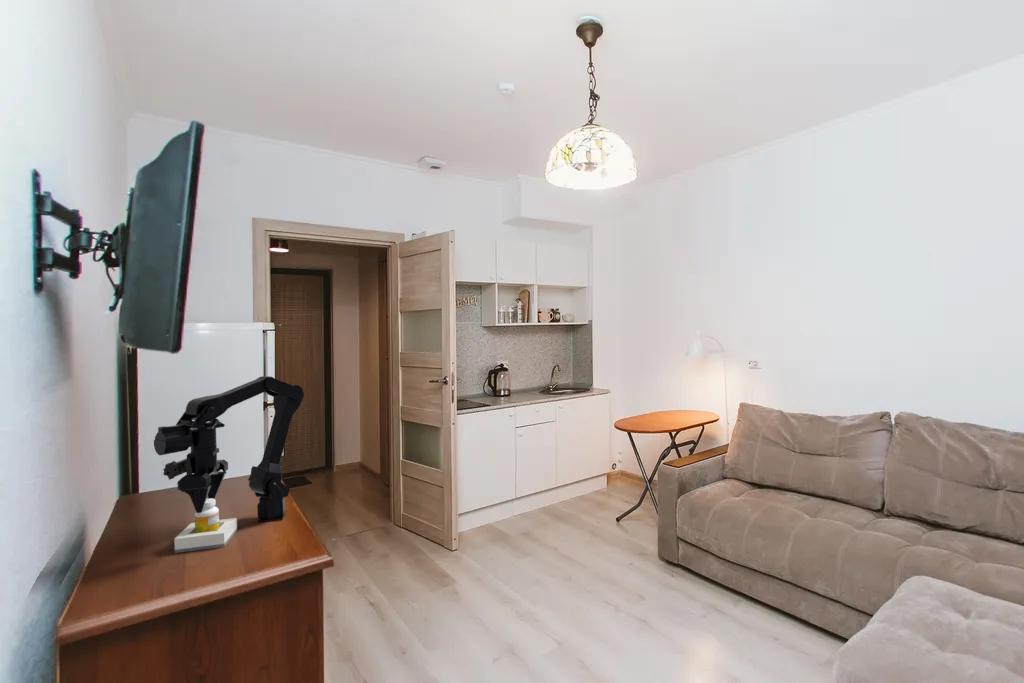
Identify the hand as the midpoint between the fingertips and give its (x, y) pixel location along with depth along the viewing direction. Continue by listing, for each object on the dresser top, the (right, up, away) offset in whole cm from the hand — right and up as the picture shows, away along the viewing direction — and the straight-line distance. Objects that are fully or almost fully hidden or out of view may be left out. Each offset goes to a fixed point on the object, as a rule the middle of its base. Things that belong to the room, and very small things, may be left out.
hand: (205, 506), depth 127 cm
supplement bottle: (0, -8, 0) cm, 8 cm away
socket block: (0, -9, 0) cm, 9 cm away
